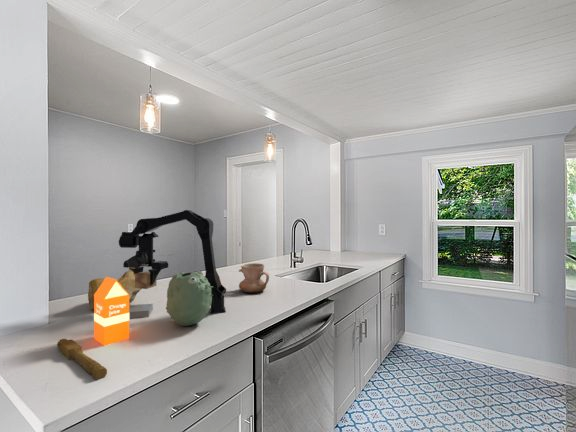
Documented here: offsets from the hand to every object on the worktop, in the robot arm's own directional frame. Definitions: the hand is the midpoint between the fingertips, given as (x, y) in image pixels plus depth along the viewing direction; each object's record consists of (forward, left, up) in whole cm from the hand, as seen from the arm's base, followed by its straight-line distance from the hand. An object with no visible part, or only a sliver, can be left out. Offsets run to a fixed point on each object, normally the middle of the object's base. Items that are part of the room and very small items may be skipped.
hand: (145, 284), depth 131 cm
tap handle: (-44, +9, -12) cm, 47 cm away
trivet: (-4, +2, -11) cm, 12 cm away
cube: (0, 0, -1) cm, 1 cm away
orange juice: (-29, +5, -11) cm, 32 cm away
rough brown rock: (+14, +16, -11) cm, 24 cm away
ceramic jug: (+21, -50, -11) cm, 55 cm away
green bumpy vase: (-22, -19, -11) cm, 31 cm away
